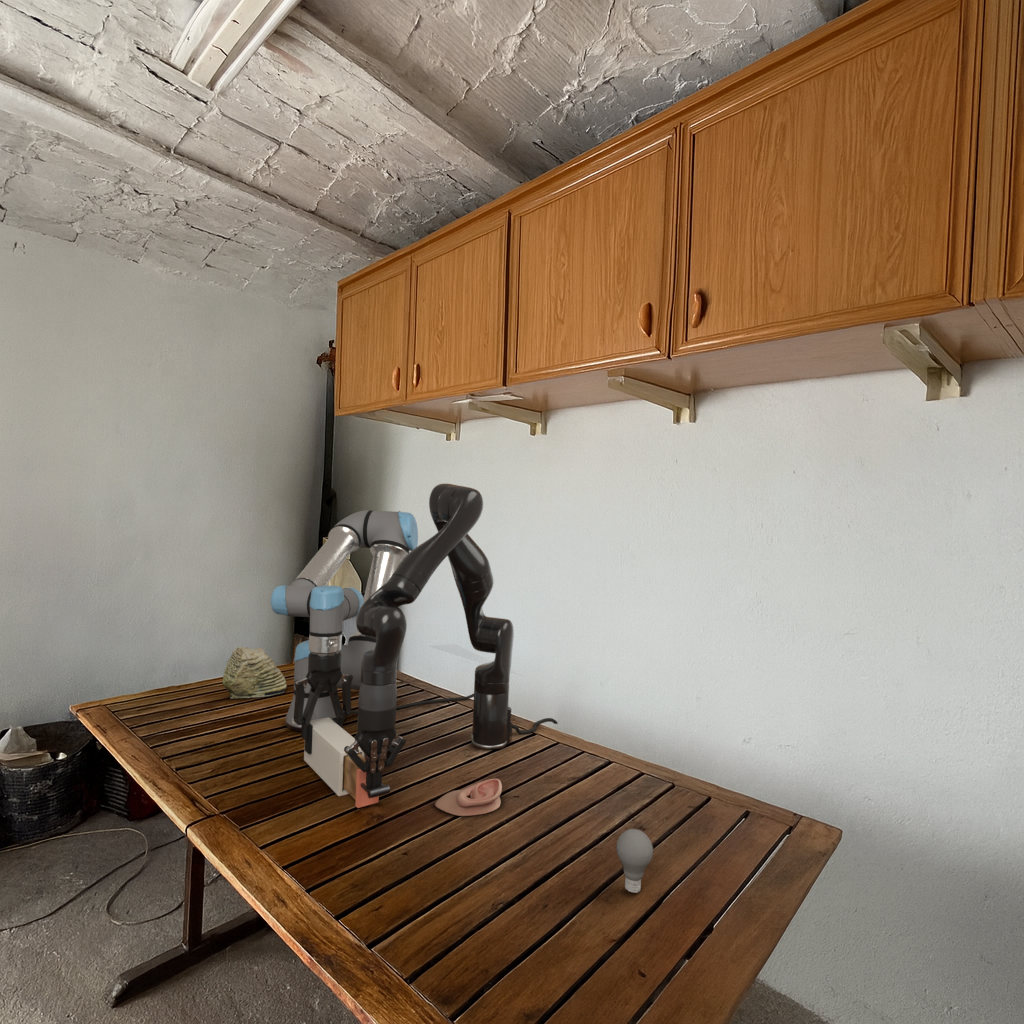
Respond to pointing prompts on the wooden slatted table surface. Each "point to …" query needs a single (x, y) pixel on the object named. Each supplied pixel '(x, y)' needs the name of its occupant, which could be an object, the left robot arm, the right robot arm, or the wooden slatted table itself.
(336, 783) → the cabinet
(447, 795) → the anatomical model
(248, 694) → the fossil
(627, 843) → the light bulb
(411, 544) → the left robot arm
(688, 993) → the wooden slatted table surface
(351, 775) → the drawer
